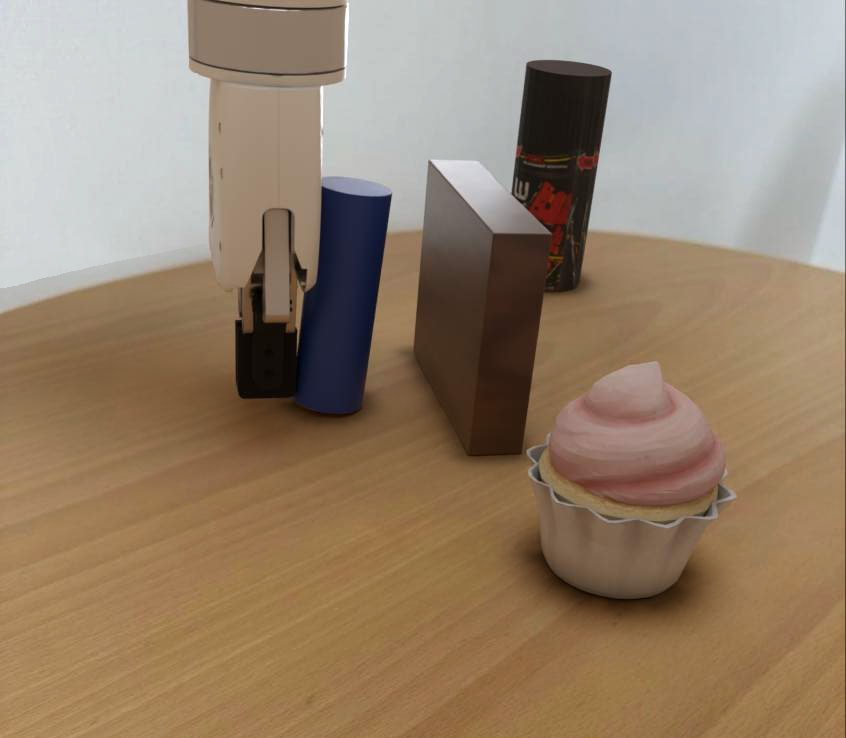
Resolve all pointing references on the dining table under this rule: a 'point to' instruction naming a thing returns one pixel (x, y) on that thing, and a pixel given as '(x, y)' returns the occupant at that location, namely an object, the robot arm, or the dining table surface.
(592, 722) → the dining table surface
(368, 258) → the tube
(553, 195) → the deodorant
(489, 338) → the block
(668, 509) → the cupcake
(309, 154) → the robot arm
